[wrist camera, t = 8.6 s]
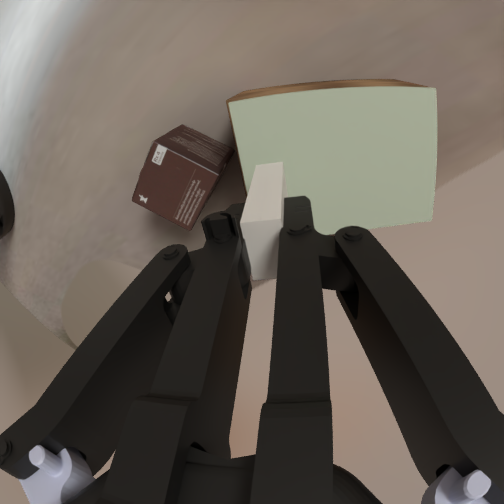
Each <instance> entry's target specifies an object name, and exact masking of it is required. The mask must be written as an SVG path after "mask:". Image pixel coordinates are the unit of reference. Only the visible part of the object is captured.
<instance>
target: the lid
mask: <svg viewBox="0 0 504 504" xmlns="http://www.w3.org/2000/svg"><path fill="white" fill-rule="evenodd" d="M228 104H229V109H230V114H231V118H232V123H233V128H234V133H235V137H236V142H237V147H238V152H239V157H240V161H241V166H242V171H243V176H244V181H245V185H246V190H247V195H248V192H249V189H250V185H251V181H252V178H253V174H254V171H255V167H256V165H261V164H268V163H276V162H283V165H284V172H285V178H286V185H287V192H288V197H296V196H306V197H307V198H309V199H310V202H311V209H312V215H313V222H314V228H315V230H316V231H317V232H319V233H321V234H324V235H330V234H335V233H336V232H337V231H338V230H339V229H341V228H343V227H347V226H360V227H362V228H365V229H374V228H381V227H388V226H396V225H404V224H411V223H418V222H426V221H432V214H433V205H434V194H435V181H436V164H437V99H436V88H430V87H403V86H375V87H347V88H331V89H319V90H308V91H299V92H290V93H282V94H275V95H268V96H262V97H255V98H249V99H244V100H238V101H233V102H229V103H228Z"/></svg>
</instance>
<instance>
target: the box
mask: <svg viewBox="0 0 504 504" xmlns="http://www.w3.org/2000/svg"><path fill="white" fill-rule="evenodd" d="M234 152H235V151H234V150H233V149H232V148H230V147H228V146H226V145H224V144H222V143H220V142H218V141H216V140H214V139H212V138H210V137H208V136H206V135H204V134H202V133H200V132H198V131H196V130H194V129H192V128H190V127H188V126H186V125H183V124H182V125H180V126H179V127H177V128H175V129H173V130H172V131H170V132H168V133H166V134H165V135H163V136H161V137H160V138H158V139H156V140H154V141H153V142H152V145H151V147H150V150H149V152H148V155H147V158H146V160H145V163H144V166H143V168H142V170H141V172H140V175H139V180H138V183H137V185H136V188H135V191H134V194H133V197H132V201H133V202H135V203H137V204H139V205H141V206H143V207H145V208H147V209H149V210H150V211H152V212H154V213H156V214H158V215H160V216H162V217H164V218H166V219H168V220H170V221H172V222H173V223H175V224H177V225H179V226H181V227H183V228H185V229H187V230H189V231H190V230H191V229H192V228H193V226H194V224H195V222H196V220H197V218H198V216H199V215H200V213H201V211H202V209H203V208H204V206H205V204H206V203H207V201H208V199H209V197H210V196H211V194H212V192H213V190H214V189H215V187H216V185H217V183H218V181H219V180H220V178H221V176H222V174H223V172H224V170H225V169H226V167H227V165H228V163H229V161H230V159H231V157H232V156H233V154H234Z"/></svg>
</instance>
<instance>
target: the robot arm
mask: <svg viewBox="0 0 504 504" xmlns="http://www.w3.org/2000/svg"><path fill="white" fill-rule="evenodd" d="M13 222H14V207H13V201H12V197H11V193H10V190H9V187H8V185H7V182H6V180H5V178H4V176H3V174H2V172H1V171H0V239H1V238H3V237H4V236H5V235H6V234H7V233H8V232H9V231H10V230H11V228H12V226H13ZM201 223H202V227H203V230H204V233H205V237H206V242H205V245H204V247H203V248H201V249H199V250H195V251H192V252H188V250H187V247H185V246H184V245H180V244H177V245H171V246H167V247H166V248H164V249H162V250H161V251H160V252H159V253H158V254H157V255H156V256H155V257H154V258H153V259H152V260H151V261H150V262H149V264H148V265H147V266H146V267H145V268H144V269H143V270H142V271H141V273H140V274H139V275H138V276H137V277H136V278H135V279H134V281H133V282H132V283H131V284H130V285H129V286H128V287H127V289H126V290H125V291H124V292H123V293H122V294H121V296H120V297H119V298H118V299H117V300H116V301H115V303H114V304H113V305H112V306H111V307H110V309H109V310H108V311H107V312H106V313H105V315H104V316H103V317H102V318H101V320H100V321H99V322H98V323H97V324H96V326H95V327H94V328H93V329H92V331H91V332H90V333H89V334H88V335H87V337H86V338H85V339H84V341H83V342H82V343H81V344H80V346H79V347H78V348H77V349H76V351H75V352H74V353H73V355H72V356H71V357H70V359H69V360H68V361H67V362H66V364H65V365H64V366H63V368H62V369H61V370H60V372H59V373H58V374H57V376H56V377H55V378H54V380H53V381H52V383H51V384H50V385H49V387H48V388H47V389H46V391H45V392H44V393H43V395H42V396H41V398H40V399H39V400H38V402H37V403H36V405H35V406H34V407H32V408H31V409H30V410H29V411H28V412H26V413H25V414H24V415H23V416H22V417H21V418H19V419H18V420H17V421H16V422H15V423H13V424H12V425H11V426H10V427H9V428H8V429H7V430H5V431H4V432H3V433H2V434H1V435H0V468H1V469H2V470H4V471H5V472H7V473H9V474H11V475H12V476H14V477H16V478H18V480H19V481H20V482H21V485H22V487H23V489H24V491H25V493H26V496H27V498H28V500H29V502H30V504H382V503H381V502H380V501H379V500H378V499H377V498H376V497H375V496H374V495H373V494H372V493H371V492H370V491H369V490H368V489H367V488H366V487H365V486H364V485H363V483H362V482H361V481H360V480H358V479H357V478H356V477H355V476H354V475H353V474H351V473H350V472H348V471H347V470H345V469H343V468H341V467H340V466H337V465H335V464H333V431H332V405H331V400H330V385H329V367H328V352H327V337H326V326H325V313H324V303H323V292H322V288H323V289H330V290H336V294H337V297H338V299H339V301H340V303H341V305H342V307H343V309H344V311H345V313H346V315H347V317H348V318H349V320H350V322H351V324H352V327H353V329H354V331H355V333H356V335H357V337H358V338H359V341H360V343H361V345H362V347H363V349H364V351H365V353H366V355H367V357H368V359H369V361H370V363H371V366H372V368H373V370H374V372H375V374H376V376H377V378H378V381H379V383H380V385H381V387H382V389H383V392H384V394H385V396H386V398H387V400H388V402H389V405H390V407H391V409H392V412H393V414H394V416H395V418H396V421H397V423H398V425H399V428H400V430H401V433H402V435H403V437H404V439H405V442H406V444H407V447H408V449H409V452H410V454H411V457H412V458H413V461H414V463H415V465H416V467H417V469H418V471H419V473H420V474H421V476H422V477H423V479H424V480H425V481H426V483H427V484H428V486H429V487H428V488H427V490H426V491H425V493H424V495H423V497H422V501H421V504H504V415H503V414H502V413H501V412H500V411H499V410H498V408H497V406H496V404H495V403H494V401H493V399H492V397H491V396H490V394H489V392H488V391H487V389H486V387H485V386H484V384H483V383H482V381H481V379H480V377H479V376H478V374H477V373H476V371H475V370H474V368H473V367H472V365H471V363H470V362H469V360H468V359H467V357H466V356H465V354H464V353H463V351H462V350H461V348H460V347H459V345H458V344H457V342H456V341H455V339H454V338H453V337H452V335H451V334H450V332H449V331H448V330H447V328H446V327H445V325H444V324H443V322H442V321H441V320H440V318H439V317H438V316H437V314H436V313H435V312H434V310H433V309H432V307H431V306H430V305H429V304H428V302H427V301H426V300H425V298H424V297H423V296H422V294H421V293H420V292H419V291H418V289H417V288H416V287H415V285H414V284H413V283H412V282H411V280H410V279H409V278H408V277H407V275H406V274H405V273H404V272H403V270H402V269H401V268H400V267H399V265H398V264H397V263H396V262H395V261H394V259H393V258H392V257H391V256H390V255H389V253H388V252H387V251H386V250H385V249H384V248H383V246H382V245H381V244H380V243H379V242H378V241H377V239H376V238H375V237H374V236H373V235H372V234H371V233H370V232H369V231H368V230H367V229H365V228H362V227H360V226H347V227H343V228H341V229H339V230H338V231H337V232H336V233H335V236H328V235H324V234H321V233H319V232H317V231H316V230H315V228H314V222H313V215H312V209H311V202H310V199H309V198H307V197H306V196H296V197H288V192H287V185H286V178H285V172H284V165H283V162H276V163H268V164H261V165H256V167H255V171H254V174H253V178H252V181H251V185H250V189H249V192H248V196H247V199H246V203H241V204H234V205H231V206H230V207H229V208H228V209H227V210H226V211H220V212H216V213H213V214H210V215H208V216H207V217H205V218H204V219H203V220H202V221H201ZM251 273H252V278H253V280H265V279H277V282H276V298H275V310H274V325H273V337H272V349H271V361H270V373H269V385H268V395H267V400H266V403H264V404H263V406H262V409H261V415H260V421H259V430H258V440H257V448H256V454H255V455H250V456H244V457H238V458H232V459H231V451H230V445H229V434H230V427H231V421H232V415H233V414H232V413H233V408H234V401H235V395H236V389H237V382H238V376H239V369H240V362H241V357H242V350H243V344H244V337H245V331H246V324H247V318H248V311H249V304H250V296H251V291H252V286H251V281H250V274H251ZM168 292H170V295H171V297H172V298H171V299H170V301H168V302H167V300H166V298H165V296H166V294H167V293H168ZM115 450H116V451H115ZM114 451H115V454H114V458H113V460H112V464H111V467H110V469H109V470H108V471H106V472H105V473H104V474H102V475H101V476H100V477H98V478H97V479H95V478H94V477H93V476H94V475H95V474H96V473H97V472H98V471H99V470H100V469H101V468H102V467H103V466H104V465H105V464H106V462H107V461H108V460H109V459H110V457H111V456H112V454H113V453H114Z"/></svg>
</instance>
